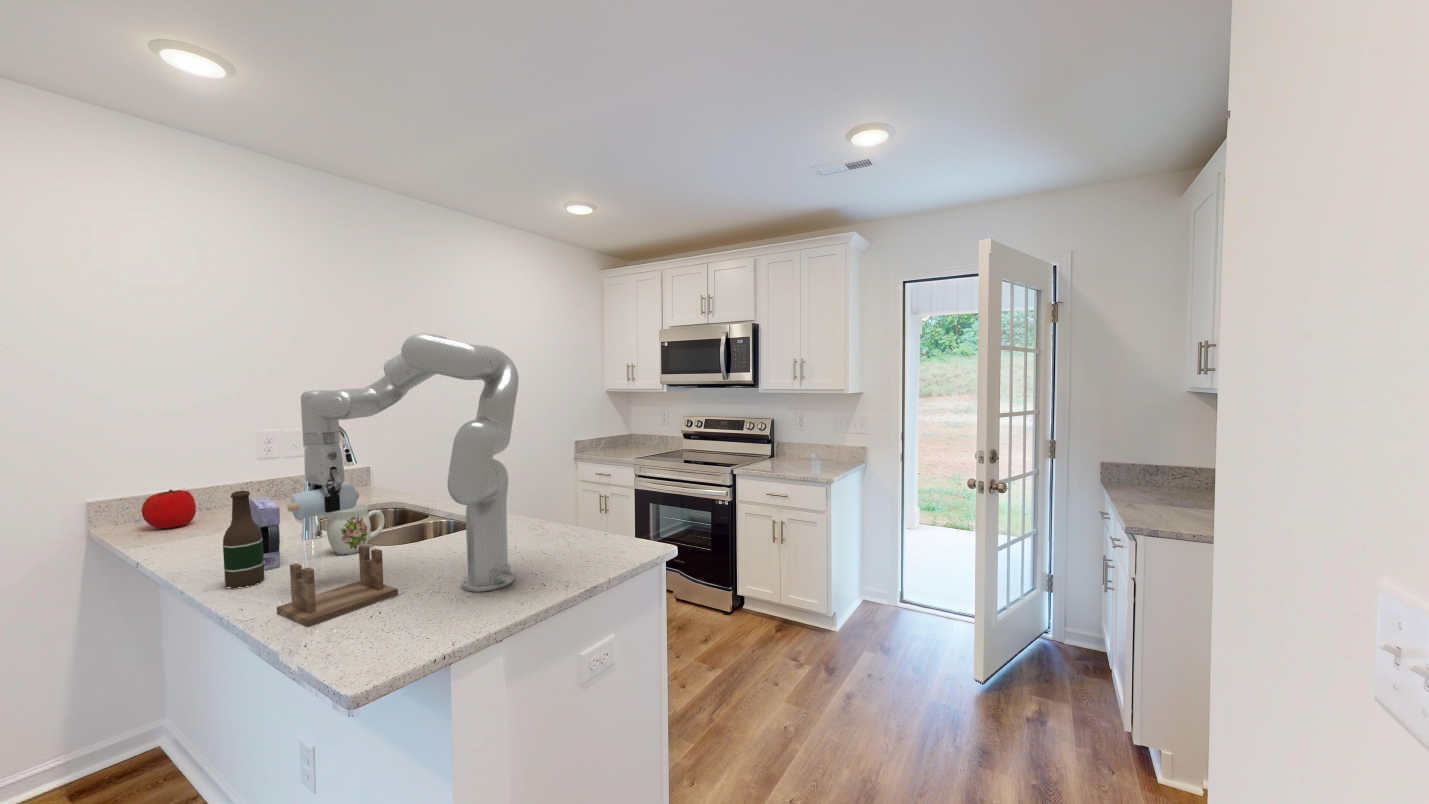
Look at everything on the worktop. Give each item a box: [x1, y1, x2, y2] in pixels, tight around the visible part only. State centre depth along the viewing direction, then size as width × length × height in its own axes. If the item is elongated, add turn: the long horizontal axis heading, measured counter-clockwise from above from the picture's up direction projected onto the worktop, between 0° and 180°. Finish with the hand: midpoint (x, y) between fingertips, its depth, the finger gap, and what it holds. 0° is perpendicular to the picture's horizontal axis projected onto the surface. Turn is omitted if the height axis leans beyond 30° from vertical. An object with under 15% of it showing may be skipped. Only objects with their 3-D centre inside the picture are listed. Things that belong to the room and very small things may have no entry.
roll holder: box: [276, 545, 399, 628], centre depth 126 cm, size 14×19×11 cm
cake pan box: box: [249, 496, 281, 571], centre depth 155 cm, size 19×5×18 cm, turn 47°
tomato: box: [141, 488, 197, 529], centre depth 195 cm, size 16×14×14 cm
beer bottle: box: [222, 490, 265, 588], centre depth 139 cm, size 8×8×24 cm
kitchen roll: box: [287, 483, 360, 520], centre depth 137 cm, size 6×15×6 cm, turn 150°
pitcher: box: [322, 504, 385, 556], centre depth 165 cm, size 11×18×14 cm, turn 146°
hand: (325, 509), depth 137 cm, fingers closed on kitchen roll, 6 cm apart
